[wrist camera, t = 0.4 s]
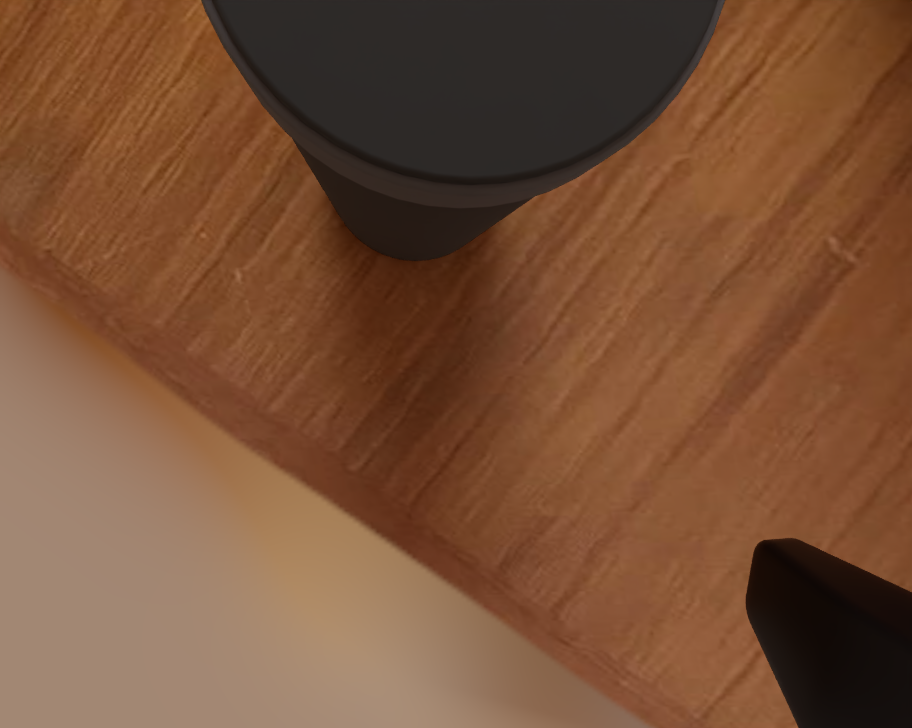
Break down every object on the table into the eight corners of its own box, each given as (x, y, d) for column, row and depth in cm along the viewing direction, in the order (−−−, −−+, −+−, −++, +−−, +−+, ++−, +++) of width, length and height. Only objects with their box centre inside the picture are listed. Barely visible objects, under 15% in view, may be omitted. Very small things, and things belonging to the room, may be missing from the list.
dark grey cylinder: (502, 264, 20) (735, 198, 7) (325, 263, 19) (183, 189, 6) (504, 83, 19) (760, -390, 6) (322, 77, 19) (160, -455, 6)
